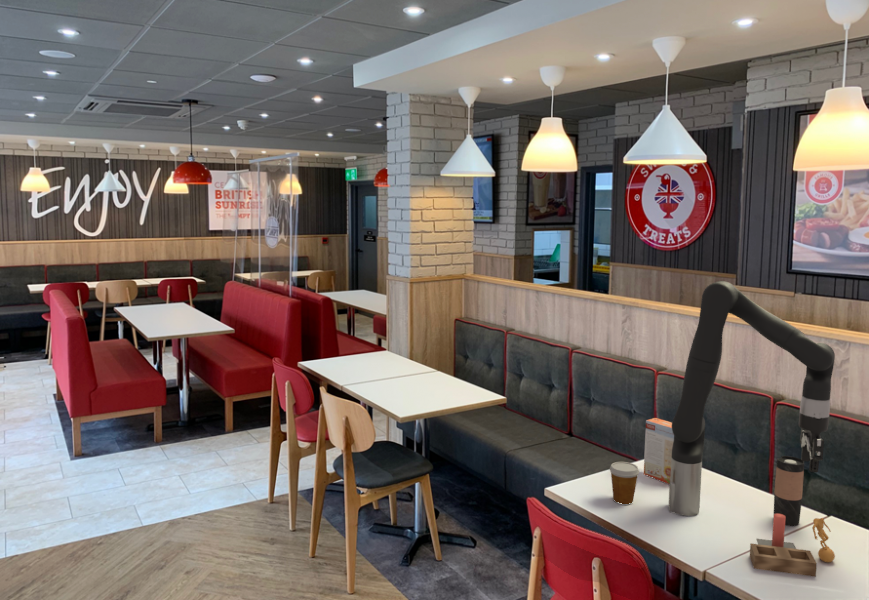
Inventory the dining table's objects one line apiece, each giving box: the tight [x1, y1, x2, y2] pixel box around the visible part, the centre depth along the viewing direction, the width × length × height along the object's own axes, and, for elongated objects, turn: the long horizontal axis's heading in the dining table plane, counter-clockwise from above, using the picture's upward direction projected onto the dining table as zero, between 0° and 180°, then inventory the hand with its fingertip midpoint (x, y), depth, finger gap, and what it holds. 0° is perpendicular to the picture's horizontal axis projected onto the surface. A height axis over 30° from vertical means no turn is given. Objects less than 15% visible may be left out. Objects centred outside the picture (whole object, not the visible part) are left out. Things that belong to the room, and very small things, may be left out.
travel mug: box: [773, 455, 805, 527], centre depth 212 cm, size 8×8×20 cm
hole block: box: [749, 543, 818, 578], centre depth 186 cm, size 15×7×4 cm, turn 74°
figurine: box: [812, 517, 836, 563], centre depth 190 cm, size 8×6×12 cm
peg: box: [771, 513, 786, 547], centre depth 196 cm, size 3×3×10 cm
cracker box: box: [643, 417, 674, 485], centre depth 245 cm, size 14×6×21 cm, turn 34°
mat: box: [756, 538, 797, 549], centre depth 197 cm, size 10×8×1 cm
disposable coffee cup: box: [609, 461, 640, 505], centre depth 228 cm, size 10×10×12 cm
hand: (809, 466), depth 200 cm, fingers open, 8 cm apart
